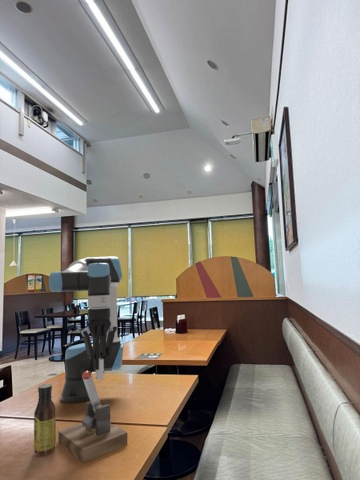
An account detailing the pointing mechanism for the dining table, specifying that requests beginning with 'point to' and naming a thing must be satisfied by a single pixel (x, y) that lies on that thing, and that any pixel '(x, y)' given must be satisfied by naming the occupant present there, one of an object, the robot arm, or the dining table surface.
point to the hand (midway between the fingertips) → (99, 378)
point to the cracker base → (93, 436)
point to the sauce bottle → (44, 422)
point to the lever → (94, 399)
